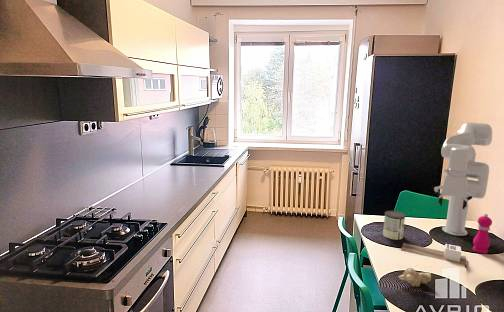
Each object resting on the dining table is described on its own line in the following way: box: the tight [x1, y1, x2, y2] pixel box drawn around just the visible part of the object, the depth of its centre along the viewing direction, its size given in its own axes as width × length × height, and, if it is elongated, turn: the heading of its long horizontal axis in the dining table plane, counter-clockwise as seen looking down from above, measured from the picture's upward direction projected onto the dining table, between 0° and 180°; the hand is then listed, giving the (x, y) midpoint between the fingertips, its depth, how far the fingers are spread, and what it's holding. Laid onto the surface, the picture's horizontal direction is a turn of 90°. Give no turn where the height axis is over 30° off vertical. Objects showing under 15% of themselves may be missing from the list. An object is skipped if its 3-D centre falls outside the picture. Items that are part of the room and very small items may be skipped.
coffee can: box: [382, 210, 406, 241], centre depth 188 cm, size 10×10×14 cm
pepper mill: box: [472, 213, 493, 255], centre depth 175 cm, size 7×7×20 cm
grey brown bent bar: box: [400, 242, 468, 269], centre depth 169 cm, size 10×28×2 cm, turn 61°
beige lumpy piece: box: [398, 267, 432, 288], centre depth 142 cm, size 8×7×12 cm
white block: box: [443, 243, 462, 262], centre depth 165 cm, size 6×6×5 cm
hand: (452, 206), depth 169 cm, fingers open, 9 cm apart
